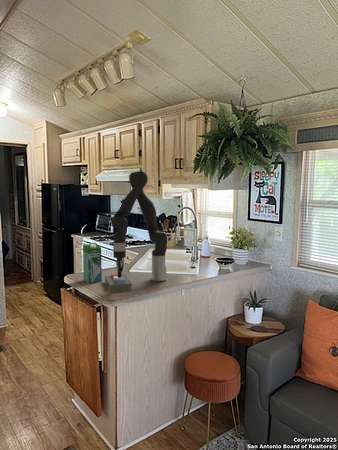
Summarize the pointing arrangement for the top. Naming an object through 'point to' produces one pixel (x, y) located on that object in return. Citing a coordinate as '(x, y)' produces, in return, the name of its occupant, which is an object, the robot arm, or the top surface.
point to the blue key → (119, 281)
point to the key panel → (120, 287)
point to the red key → (114, 274)
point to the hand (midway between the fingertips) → (119, 277)
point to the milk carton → (92, 263)
